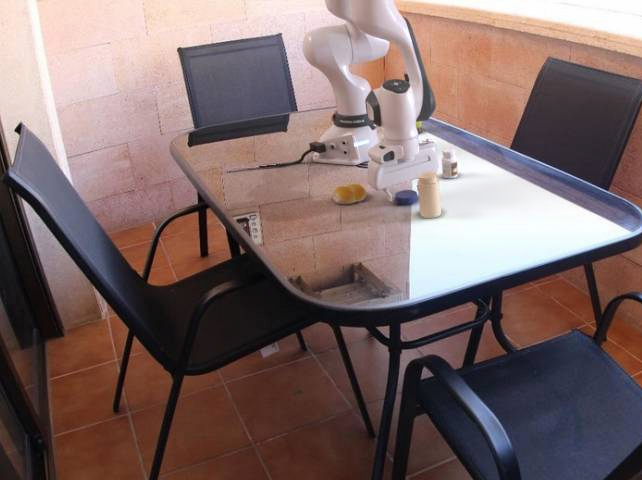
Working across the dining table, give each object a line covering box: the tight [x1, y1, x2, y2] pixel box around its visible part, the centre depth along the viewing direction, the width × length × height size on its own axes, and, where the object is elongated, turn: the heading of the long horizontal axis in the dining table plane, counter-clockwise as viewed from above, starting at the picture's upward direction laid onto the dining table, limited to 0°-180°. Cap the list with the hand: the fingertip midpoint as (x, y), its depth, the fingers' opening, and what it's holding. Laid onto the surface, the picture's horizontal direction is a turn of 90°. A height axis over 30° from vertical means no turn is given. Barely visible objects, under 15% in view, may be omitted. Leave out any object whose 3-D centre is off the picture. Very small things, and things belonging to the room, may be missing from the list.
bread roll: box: [332, 183, 367, 205], centre depth 181 cm, size 8×9×4 cm
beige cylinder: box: [417, 172, 442, 219], centre depth 168 cm, size 5×5×11 cm
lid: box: [395, 189, 419, 206], centre depth 179 cm, size 6×6×2 cm
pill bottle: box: [441, 148, 459, 179], centre depth 191 cm, size 4×4×8 cm
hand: (406, 195), depth 179 cm, fingers open, 8 cm apart
